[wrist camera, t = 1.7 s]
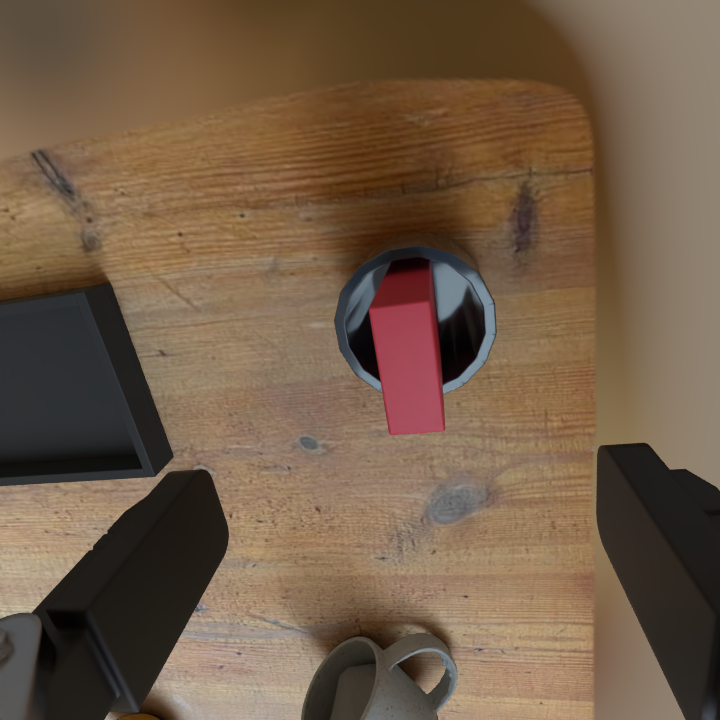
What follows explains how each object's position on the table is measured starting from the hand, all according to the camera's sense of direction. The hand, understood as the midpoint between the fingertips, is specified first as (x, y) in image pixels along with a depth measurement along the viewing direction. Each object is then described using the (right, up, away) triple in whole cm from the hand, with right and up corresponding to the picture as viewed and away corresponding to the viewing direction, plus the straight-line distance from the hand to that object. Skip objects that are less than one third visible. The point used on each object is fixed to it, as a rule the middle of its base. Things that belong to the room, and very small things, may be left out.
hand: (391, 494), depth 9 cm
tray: (-24, +1, +22) cm, 33 cm away
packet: (+2, +6, +15) cm, 16 cm away
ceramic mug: (+2, -21, +27) cm, 34 cm away
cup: (+3, +6, +15) cm, 17 cm away
